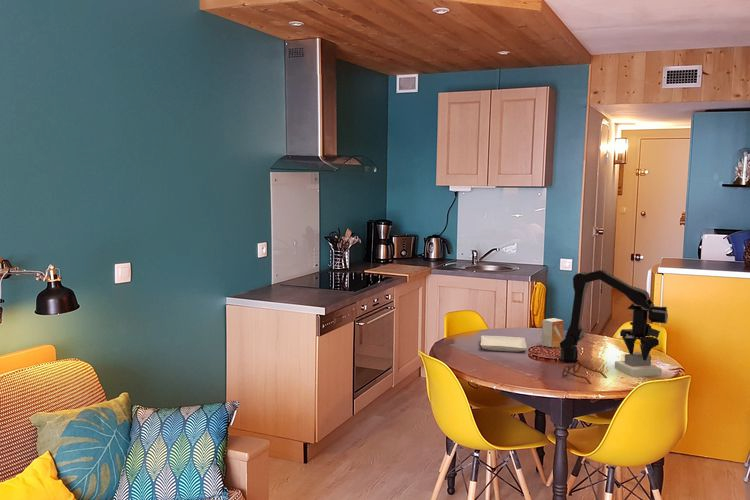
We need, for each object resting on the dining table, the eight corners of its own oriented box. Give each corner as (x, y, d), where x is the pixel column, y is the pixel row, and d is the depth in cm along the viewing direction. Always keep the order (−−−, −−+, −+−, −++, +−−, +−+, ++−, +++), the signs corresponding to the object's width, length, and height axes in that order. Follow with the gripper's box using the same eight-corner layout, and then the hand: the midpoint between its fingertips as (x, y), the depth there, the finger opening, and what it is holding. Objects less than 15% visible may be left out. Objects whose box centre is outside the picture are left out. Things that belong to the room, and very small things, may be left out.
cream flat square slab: (524, 343, 320) (524, 336, 320) (526, 354, 300) (527, 347, 299) (480, 341, 324) (480, 334, 324) (480, 352, 303) (480, 344, 303)
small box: (551, 348, 309) (552, 321, 308) (541, 346, 314) (542, 319, 313) (562, 346, 313) (564, 320, 312) (552, 343, 319) (553, 317, 317)
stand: (632, 376, 265) (633, 369, 264) (614, 367, 277) (614, 361, 277) (661, 375, 267) (661, 368, 267) (641, 366, 280) (642, 359, 280)
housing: (650, 365, 271) (651, 354, 270) (632, 366, 268) (632, 355, 268) (642, 362, 276) (643, 351, 275) (624, 363, 273) (625, 352, 273)
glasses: (578, 371, 272) (578, 360, 272) (607, 378, 263) (608, 366, 263) (561, 378, 264) (561, 366, 263) (591, 385, 254) (591, 373, 254)
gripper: (671, 324, 263) (669, 362, 264) (643, 315, 281) (641, 350, 282) (647, 325, 260) (645, 363, 262) (620, 316, 279) (618, 352, 280)
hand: (637, 357), depth 272 cm, fingers open, 9 cm apart
